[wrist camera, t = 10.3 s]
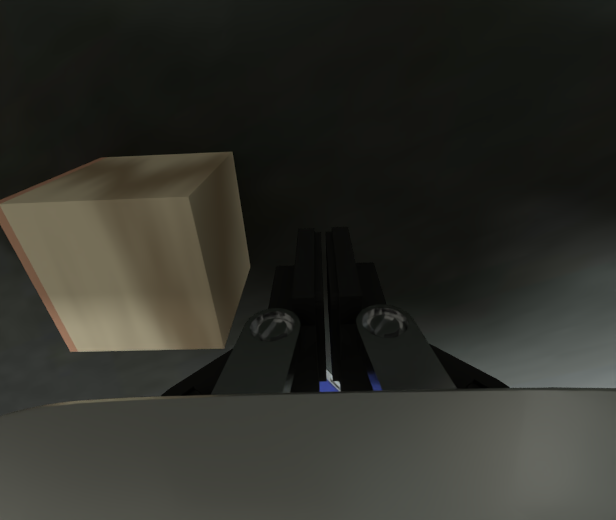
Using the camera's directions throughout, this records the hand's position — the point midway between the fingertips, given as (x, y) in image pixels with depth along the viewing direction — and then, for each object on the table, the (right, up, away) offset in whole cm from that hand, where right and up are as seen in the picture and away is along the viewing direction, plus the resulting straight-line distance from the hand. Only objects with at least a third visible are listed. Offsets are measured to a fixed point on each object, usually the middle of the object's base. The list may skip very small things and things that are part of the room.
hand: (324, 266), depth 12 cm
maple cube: (-4, +1, +2) cm, 5 cm away
